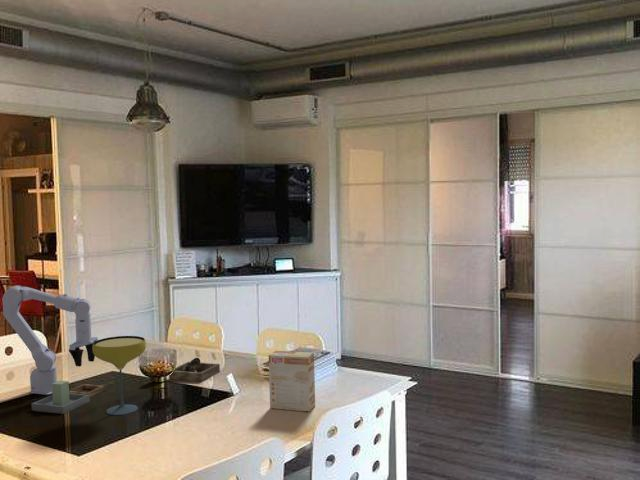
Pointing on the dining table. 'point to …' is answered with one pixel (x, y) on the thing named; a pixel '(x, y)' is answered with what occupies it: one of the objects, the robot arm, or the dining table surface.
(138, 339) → the cocktail glass
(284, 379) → the coffeecake box
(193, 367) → the eagle figurine
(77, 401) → the tray
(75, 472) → the dining table surface
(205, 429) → the dining table surface
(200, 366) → the square serving dish
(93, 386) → the square brown frame
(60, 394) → the green elongated block
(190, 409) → the dining table surface
